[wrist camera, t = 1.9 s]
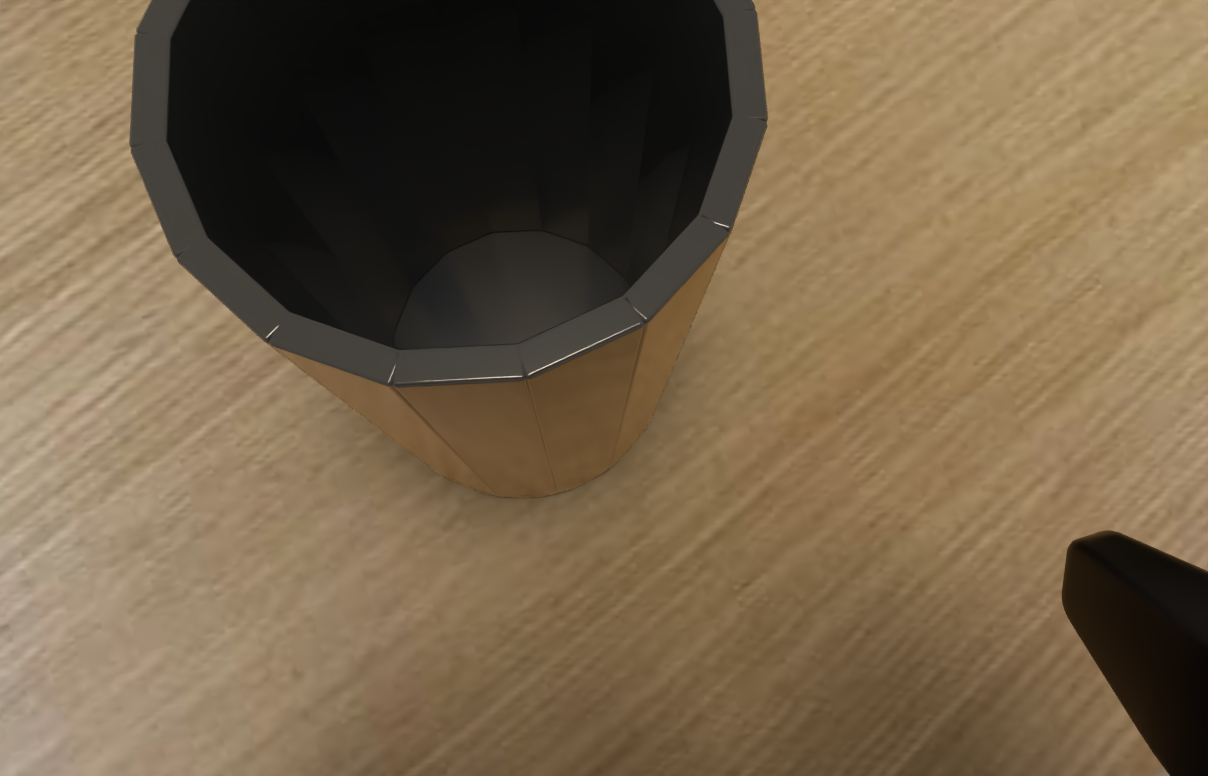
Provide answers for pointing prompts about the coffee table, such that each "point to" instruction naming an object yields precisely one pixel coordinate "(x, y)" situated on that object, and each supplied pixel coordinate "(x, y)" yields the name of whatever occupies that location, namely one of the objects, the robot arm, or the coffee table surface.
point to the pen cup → (458, 204)
